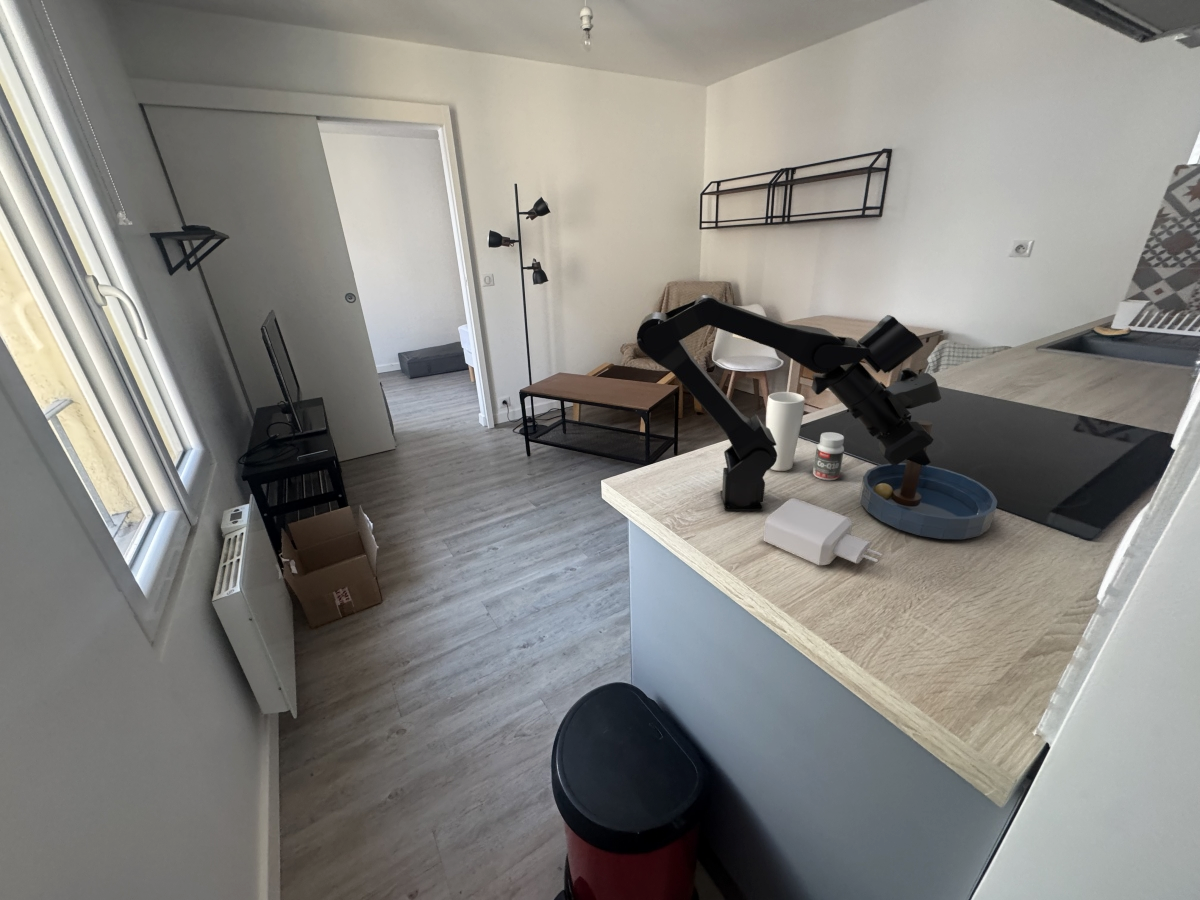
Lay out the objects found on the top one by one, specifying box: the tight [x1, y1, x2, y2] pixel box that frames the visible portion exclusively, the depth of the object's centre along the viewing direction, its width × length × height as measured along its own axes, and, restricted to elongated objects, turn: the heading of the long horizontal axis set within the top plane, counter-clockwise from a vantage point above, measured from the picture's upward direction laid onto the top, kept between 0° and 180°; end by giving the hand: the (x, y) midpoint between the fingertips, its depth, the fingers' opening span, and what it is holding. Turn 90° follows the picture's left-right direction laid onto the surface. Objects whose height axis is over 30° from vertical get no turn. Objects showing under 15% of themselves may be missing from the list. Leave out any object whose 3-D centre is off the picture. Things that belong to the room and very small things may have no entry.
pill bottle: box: [812, 431, 845, 481], centre depth 90 cm, size 5×5×8 cm
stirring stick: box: [892, 419, 933, 507], centre depth 75 cm, size 4×4×14 cm
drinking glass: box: [765, 391, 806, 472], centre depth 93 cm, size 7×7×15 cm
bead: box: [874, 483, 894, 500], centre depth 81 cm, size 3×3×3 cm
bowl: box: [859, 462, 998, 540], centre depth 78 cm, size 18×18×4 cm
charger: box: [763, 497, 884, 566], centre depth 70 cm, size 5×9×15 cm
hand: (924, 460), depth 75 cm, fingers closed on stirring stick, 2 cm apart
